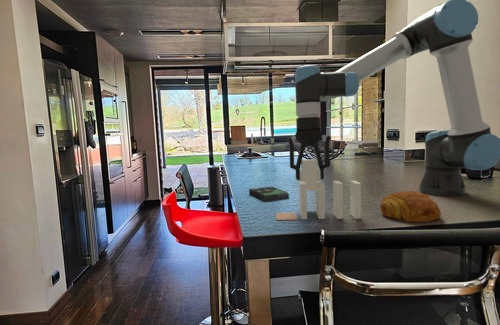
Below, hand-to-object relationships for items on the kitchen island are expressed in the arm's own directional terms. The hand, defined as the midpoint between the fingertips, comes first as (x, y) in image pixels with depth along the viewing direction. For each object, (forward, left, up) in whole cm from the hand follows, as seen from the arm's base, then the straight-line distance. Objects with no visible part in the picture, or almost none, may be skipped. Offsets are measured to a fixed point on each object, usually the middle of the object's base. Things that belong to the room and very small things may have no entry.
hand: (310, 189), depth 100 cm
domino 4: (-7, +10, -6) cm, 13 cm away
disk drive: (+13, -19, -7) cm, 24 cm away
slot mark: (+8, +10, -6) cm, 14 cm away
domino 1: (+3, +10, -6) cm, 12 cm away
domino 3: (-2, +10, -6) cm, 12 cm away
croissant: (-27, +11, -7) cm, 30 cm away
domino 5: (-12, +10, -6) cm, 17 cm away
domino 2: (0, 0, 0) cm, 0 cm away
